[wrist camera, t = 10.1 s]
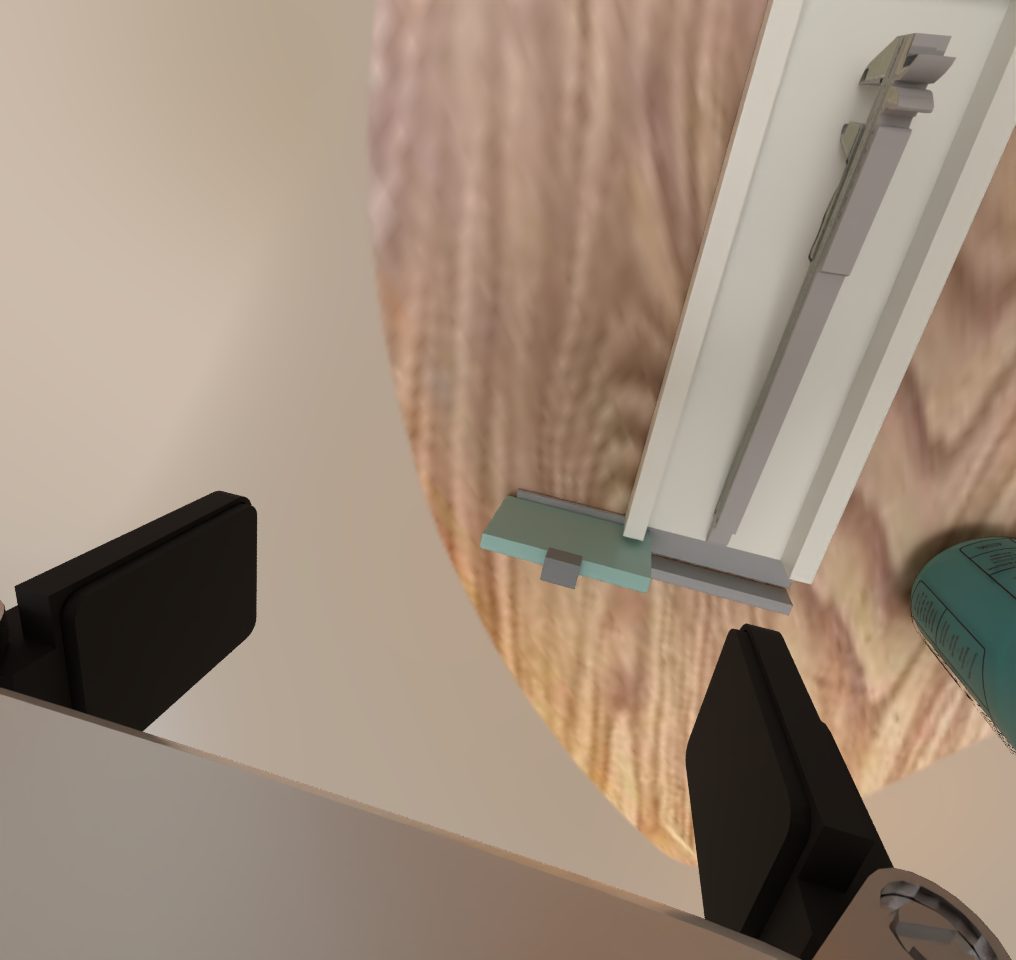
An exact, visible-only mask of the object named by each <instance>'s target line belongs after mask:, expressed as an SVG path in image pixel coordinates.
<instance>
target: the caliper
mask: <svg viewBox="0 0 1016 960" xmlns="http://www.w3.org/2000/svg"><path fill="white" fill-rule="evenodd" d="M951 37H952V36H945V35H934V34H923V33H912V34H906V35H901V36H897V37H896V38H895V39H894V40H893V41H892V42H891V43H890V44H889V45H888V46H887V47H886V48H885V49H884V50H883V51H881V52H880V53H879V54H878V55H877V56H876V57H875V58H874V59H873V60H872V61H871V62H870V63H869V64H868V66H867V67H866V69H865V71H864V73H863V75H862V77H861V79H860V82H859V84H861V85H870V86H879V87H880V88H879V90H878V93H877V95H876V97H875V100H874V102H873V105H872V108H871V110H870V113H869V115H868V118H867V120H866V123H857V122H850V123H849V124H846V123H845V124H844V125H843V128H842V131H841V137H840V141H841V145H842V149H843V153H844V157H845V162H846V167H845V170H844V173H843V175H842V178H841V181H840V183H839V186H838V187H837V188H836V190H835V193H834V195H833V197H832V199H831V201H830V203H829V206H828V208H827V210H826V212H825V214H824V217H823V220H822V223H821V226H820V229H819V232H818V234H817V237H816V239H815V241H814V243H813V246H812V248H811V250H810V253H809V256H808V259H809V261H810V262H811V264H810V267H809V269H808V272H807V274H806V277H805V279H804V282H803V285H802V287H801V290H800V292H799V295H798V298H797V300H796V303H795V305H794V308H793V310H792V313H791V316H790V318H789V321H788V323H787V326H786V329H785V331H784V334H783V336H782V339H781V341H780V344H779V347H778V349H777V352H776V354H775V357H774V359H773V362H772V365H771V367H770V370H769V372H768V375H767V378H766V380H765V383H764V385H763V388H762V390H761V393H760V396H759V398H758V401H757V403H756V406H755V408H754V411H753V414H752V416H751V419H750V421H749V424H748V426H747V429H746V431H745V434H744V437H743V439H742V442H741V444H740V447H739V449H738V452H737V455H736V457H735V460H734V462H733V465H732V467H731V470H730V472H729V475H728V478H727V480H726V483H725V485H724V488H723V490H722V493H721V495H720V498H719V501H718V503H717V506H716V508H715V511H714V514H713V518H714V521H713V523H712V526H711V528H710V530H709V533H708V536H707V538H706V543H709V544H713V545H718V546H722V547H726V546H727V545H728V543H729V541H730V538H731V536H732V534H736V532H737V530H738V527H739V525H740V523H741V520H742V518H743V516H744V513H745V511H746V509H747V506H748V504H749V502H750V499H751V497H752V495H753V492H754V490H755V488H756V485H757V483H758V481H759V478H760V476H761V474H762V471H763V469H764V467H765V464H766V462H767V460H768V457H769V455H770V453H771V450H772V448H773V445H774V443H775V441H776V438H777V436H778V434H779V431H780V429H781V427H782V424H783V422H784V420H785V417H786V415H787V413H788V410H789V408H790V405H791V403H792V401H793V398H794V396H795V394H796V391H797V389H798V387H799V384H800V382H801V380H802V377H803V375H804V373H805V370H806V368H807V365H808V363H809V361H810V358H811V356H812V354H813V351H814V349H815V347H816V344H817V342H818V340H819V337H820V335H821V333H822V330H823V328H824V326H825V323H826V321H827V318H828V316H829V314H830V311H831V309H832V307H833V304H834V302H835V300H836V297H837V295H838V293H839V290H840V288H841V286H842V283H843V281H844V278H845V276H849V275H850V273H851V271H852V269H853V267H854V264H855V262H856V260H857V257H858V255H859V253H860V250H861V248H862V246H863V244H864V241H865V239H866V237H867V234H868V232H869V230H870V227H871V225H872V223H873V221H874V218H875V216H876V214H877V211H878V209H879V207H880V204H881V202H882V200H883V198H884V195H885V193H886V191H887V188H888V186H889V184H890V181H891V179H892V177H893V174H894V172H895V170H896V168H897V165H898V163H899V161H900V158H901V156H902V154H903V151H904V149H905V147H906V145H907V142H908V140H909V137H910V135H911V132H912V130H911V129H909V127H910V124H911V121H912V119H913V117H916V115H917V113H918V112H919V113H932V111H933V108H934V100H933V93H932V91H930V90H926V88H927V86H928V84H932V83H935V82H936V81H937V80H938V79H939V78H941V77H942V76H943V75H944V74H945V73H946V72H947V70H948V69H949V68H950V67H951V66H952V64H953V63H954V61H955V59H956V57H948V56H944V54H945V51H946V49H947V46H948V44H949V42H950V39H951Z"/></svg>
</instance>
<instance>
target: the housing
mask: <svg viewBox="0 0 1016 960" xmlns="http://www.w3.org/2000/svg"><path fill="white" fill-rule="evenodd" d="M912 33H923V34H934V35H945V36H952V37H951V39H950V42H949V44H948V46H947V49H946V51H945V54H944V56H948V57H956V59H955V61H954V63H953V64H952V66H951V67H950V68H949V69H948V70H947V72H946V73H945V74H944V75H943V76H942V77H941V78H939V79H938V80H937V81H936V82H935V83H932V84H928V86H927V88H926V90H930V91H932V93H933V100H934V108H933V111H932V113H919V112H918V113H917V115H916V117H913V119H912V121H911V124H910V127H909V129H911V130H912V132H911V135H910V137H909V140H908V142H907V145H906V147H905V149H904V151H903V154H902V156H901V158H900V161H899V163H898V165H897V168H896V170H895V172H894V174H893V177H892V179H891V181H890V184H889V186H888V188H887V191H886V193H885V195H884V198H883V200H882V202H881V204H880V207H879V209H878V211H877V214H876V216H875V218H874V221H873V223H872V225H871V227H870V230H869V232H868V234H867V237H866V239H865V241H864V244H863V246H862V248H861V250H860V253H859V255H858V257H857V260H856V262H855V264H854V267H853V269H852V271H851V273H850V275H849V276H845V278H844V281H843V283H842V286H841V288H840V290H839V293H838V295H837V297H836V300H835V302H834V304H833V307H832V309H831V311H830V314H829V316H828V318H827V321H826V323H825V326H824V328H823V330H822V333H821V335H820V337H819V340H818V342H817V344H816V347H815V349H814V351H813V354H812V356H811V358H810V361H809V363H808V365H807V368H806V370H805V373H804V375H803V377H802V380H801V382H800V384H799V387H798V389H797V391H796V394H795V396H794V398H793V401H792V403H791V405H790V408H789V410H788V413H787V415H786V417H785V420H784V422H783V424H782V427H781V429H780V431H779V434H778V436H777V438H776V441H775V443H774V445H773V448H772V450H771V453H770V455H769V457H768V460H767V462H766V464H765V467H764V469H763V471H762V474H761V476H760V478H759V481H758V483H757V485H756V488H755V490H754V492H753V495H752V497H751V499H750V502H749V504H748V506H747V509H746V511H745V513H744V516H743V518H742V520H741V523H740V525H739V527H738V530H737V532H736V534H732V536H731V538H730V541H729V543H728V545H727V546H726V547H722V546H718V545H713V544H709V543H706V538H707V536H708V533H709V530H710V528H711V526H712V523H713V521H714V518H713V514H714V511H715V508H716V506H717V503H718V501H719V498H720V495H721V493H722V490H723V488H724V485H725V483H726V480H727V478H728V475H729V472H730V470H731V467H732V465H733V462H734V460H735V457H736V455H737V452H738V449H739V447H740V444H741V442H742V439H743V437H744V434H745V431H746V429H747V426H748V424H749V421H750V419H751V416H752V414H753V411H754V408H755V406H756V403H757V401H758V398H759V396H760V393H761V390H762V388H763V385H764V383H765V380H766V378H767V375H768V372H769V370H770V367H771V365H772V362H773V359H774V357H775V354H776V352H777V349H778V347H779V344H780V341H781V339H782V336H783V334H784V331H785V329H786V326H787V323H788V321H789V318H790V316H791V313H792V310H793V308H794V305H795V303H796V300H797V298H798V295H799V292H800V290H801V287H802V285H803V282H804V279H805V277H806V274H807V272H808V269H809V267H810V264H811V262H810V261H809V259H808V256H809V253H810V250H811V248H812V246H813V243H814V241H815V239H816V237H817V234H818V232H819V229H820V226H821V223H822V220H823V217H824V214H825V212H826V210H827V208H828V206H829V203H830V201H831V199H832V197H833V195H834V193H835V190H836V188H837V187H838V186H839V183H840V181H841V178H842V175H843V173H844V170H845V167H846V162H845V157H844V153H843V149H842V145H841V141H840V137H841V131H842V128H843V125H844V124H845V123H846V124H849V123H850V122H857V123H866V120H867V118H868V115H869V113H870V110H871V108H872V105H873V102H874V100H875V97H876V95H877V93H878V90H879V88H880V87H879V86H870V85H861V84H859V82H860V79H861V77H862V75H863V73H864V71H865V69H866V67H867V66H868V64H869V63H870V62H871V61H872V60H873V59H874V58H875V57H876V56H877V55H878V54H879V53H880V52H881V51H883V50H884V49H885V48H886V47H887V46H888V45H889V44H890V43H891V42H892V41H893V40H894V39H895V38H896V37H897V36H901V35H906V34H912ZM1015 125H1016V0H768V4H767V8H766V11H765V15H764V18H763V22H762V26H761V29H760V33H759V36H758V40H757V44H756V47H755V51H754V54H753V58H752V62H751V65H750V69H749V72H748V76H747V80H746V83H745V87H744V90H743V94H742V98H741V101H740V105H739V108H738V112H737V116H736V119H735V123H734V126H733V130H732V133H731V137H730V141H729V144H728V148H727V151H726V155H725V159H724V162H723V166H722V169H721V173H720V177H719V180H718V184H717V187H716V191H715V195H714V198H713V202H712V205H711V209H710V213H709V216H708V220H707V223H706V227H705V231H704V234H703V238H702V241H701V245H700V249H699V252H698V256H697V259H696V263H695V267H694V270H693V274H692V277H691V281H690V285H689V288H688V292H687V295H686V299H685V303H684V306H683V310H682V313H681V317H680V321H679V324H678V328H677V331H676V335H675V338H674V342H673V346H672V349H671V353H670V356H669V360H668V364H667V367H666V371H665V374H664V378H663V382H662V385H661V389H660V392H659V396H658V400H657V403H656V407H655V410H654V414H653V418H652V421H651V425H650V428H649V432H648V436H647V439H646V443H645V446H644V450H643V454H642V457H641V461H640V464H639V468H638V472H637V475H636V479H635V482H634V486H633V490H632V493H631V497H630V500H629V504H628V508H627V511H626V515H622V514H618V513H614V512H610V511H606V510H602V509H598V508H594V507H590V506H586V505H582V504H578V503H574V502H570V501H566V500H562V499H558V498H554V497H550V496H547V495H543V494H539V493H535V492H531V491H527V490H523V489H518V492H517V497H516V498H520V499H524V500H528V501H532V502H535V503H539V504H543V505H547V506H551V507H555V508H559V509H563V510H567V511H571V512H575V513H578V514H582V515H586V516H590V517H594V518H598V519H602V520H606V521H610V522H614V523H618V524H622V525H624V532H623V536H626V537H630V538H633V539H637V540H641V541H643V539H644V536H645V533H646V531H649V532H651V552H652V553H656V554H660V555H664V556H668V557H671V558H675V559H679V560H683V561H687V562H691V563H694V564H698V565H702V566H706V567H710V568H713V569H717V570H721V571H725V572H729V573H733V574H736V575H740V576H744V577H748V578H752V579H756V580H759V581H763V582H767V583H771V584H775V585H778V586H782V587H786V588H789V586H790V584H791V581H792V580H796V581H800V582H803V583H807V584H812V581H813V579H814V577H815V575H816V572H817V570H818V568H819V566H820V563H821V561H822V559H823V557H824V554H825V552H826V550H827V548H828V545H829V543H830V541H831V539H832V536H833V534H834V532H835V530H836V527H837V525H838V523H839V521H840V518H841V516H842V514H843V512H844V509H845V507H846V505H847V503H848V500H849V498H850V496H851V494H852V491H853V489H854V487H855V485H856V482H857V480H858V478H859V476H860V474H861V471H862V469H863V467H864V465H865V462H866V460H867V458H868V456H869V453H870V451H871V449H872V447H873V444H874V442H875V440H876V438H877V435H878V433H879V431H880V429H881V426H882V424H883V422H884V420H885V417H886V415H887V413H888V411H889V408H890V406H891V404H892V402H893V399H894V397H895V395H896V393H897V390H898V388H899V386H900V384H901V381H902V379H903V377H904V375H905V372H906V370H907V368H908V366H909V363H910V361H911V359H912V357H913V354H914V352H915V350H916V348H917V345H918V343H919V341H920V339H921V336H922V334H923V332H924V330H925V327H926V325H927V323H928V321H929V318H930V316H931V314H932V312H933V309H934V307H935V305H936V303H937V300H938V298H939V296H940V294H941V291H942V289H943V287H944V285H945V282H946V280H947V278H948V276H949V273H950V271H951V269H952V267H953V264H954V262H955V260H956V258H957V255H958V253H959V251H960V249H961V246H962V244H963V242H964V240H965V237H966V235H967V233H968V231H969V228H970V226H971V224H972V222H973V219H974V217H975V215H976V213H977V210H978V208H979V206H980V204H981V201H982V199H983V197H984V195H985V192H986V190H987V188H988V186H989V183H990V181H991V179H992V177H993V174H994V172H995V170H996V168H997V165H998V163H999V161H1000V159H1001V156H1002V154H1003V152H1004V150H1005V147H1006V145H1007V143H1008V141H1009V138H1010V136H1011V134H1012V132H1013V129H1014V127H1015ZM651 579H655V580H659V581H663V582H666V583H670V584H674V585H677V586H681V587H685V588H689V589H692V590H696V591H700V592H703V593H707V594H711V595H715V596H718V597H722V598H726V599H729V600H733V601H737V602H741V603H744V604H748V605H752V606H755V607H759V608H763V609H767V610H770V611H774V612H778V613H781V614H785V615H789V613H790V611H791V609H792V606H793V605H792V602H791V600H790V598H789V596H788V593H787V591H786V589H783V588H779V587H775V586H771V585H768V584H764V583H760V582H756V581H752V580H749V579H745V578H741V577H737V576H733V575H729V574H726V573H722V572H718V571H714V570H710V569H707V568H703V567H699V566H695V565H691V564H687V563H684V562H680V561H676V560H672V559H668V558H665V557H661V556H657V555H653V554H651Z"/></svg>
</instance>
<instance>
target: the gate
mask: <svg viewBox="0 0 1016 960" xmlns="http://www.w3.org/2000/svg"><path fill="white" fill-rule="evenodd" d="M623 532H624V525H622V524H618V523H614V522H610V521H606V520H602V519H598V518H594V517H590V516H586V515H582V514H578V513H575V512H571V511H567V510H563V509H559V508H555V507H551V506H547V505H543V504H539V503H535V502H532V501H528V500H524V499H520V498H516V497H512V496H508V495H507V497H506V498H505V500H504V501H503V503H502V504H501V506H500V507H499V509H498V510H497V512H496V513H495V515H494V516H493V518H492V520H491V521H490V523H489V524H488V526H487V527H486V529H485V530H484V532H483V533H482V539H481V545H480V548H483V549H487V550H490V551H494V552H497V553H501V554H505V555H508V556H512V557H516V558H519V559H523V560H527V561H530V562H534V563H538V564H541V565H543V569H542V573H541V578H540V580H543V581H547V582H550V583H554V584H558V585H561V586H565V587H568V588H572V589H575V585H576V581H577V577H578V575H581V576H585V577H589V578H592V579H596V580H600V581H603V582H607V583H611V584H614V585H618V586H622V587H625V588H629V589H633V590H636V591H640V592H644V593H647V591H648V588H649V585H650V582H651V532H649V531H646V533H645V536H644V539H643V541H641V540H637V539H633V538H630V537H626V536H623Z"/></svg>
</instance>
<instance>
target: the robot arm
mask: <svg viewBox="0 0 1016 960" xmlns="http://www.w3.org/2000/svg"><path fill="white" fill-rule="evenodd" d="M256 588H257V511H256V509H255V508H254V507H253V506H251V503H250V500H249V499H248V498H246V497H242V496H239V495H235V494H231V493H227V492H223V491H216V492H213V493H211V494H209V495H207V496H205V497H202V498H200V499H199V500H196V501H194V502H192V503H190V504H188V505H185V506H183V507H181V508H179V509H177V510H175V511H173V512H171V513H169V514H166V515H164V516H162V517H160V518H158V519H156V520H154V521H152V522H150V523H147V524H145V525H143V526H141V527H139V528H137V529H135V530H133V531H131V532H128V533H126V534H124V535H122V536H120V537H118V538H116V539H114V540H111V541H109V542H107V543H105V544H103V545H101V546H99V547H97V548H95V549H92V550H90V551H88V552H86V553H84V554H82V555H80V556H78V557H76V558H73V559H71V560H69V561H67V562H65V563H63V564H61V565H59V566H57V567H55V568H52V569H50V570H48V571H46V572H44V573H42V574H40V575H38V576H35V577H33V578H31V579H29V580H27V581H25V582H23V583H21V584H19V585H16V586H15V591H16V597H17V603H18V605H17V606H15V607H13V608H11V609H9V610H7V611H5V606H4V604H3V603H2V602H1V600H0V960H1011V958H1010V956H1009V955H1008V953H1007V952H1006V950H1005V949H1004V947H1003V946H1002V944H1001V943H1000V941H999V939H998V938H997V937H996V936H995V935H994V934H993V933H992V931H991V930H990V929H989V928H988V927H987V926H986V925H985V924H984V922H983V921H982V920H981V919H980V918H979V917H978V916H977V915H976V914H975V913H974V912H973V911H971V910H970V909H969V908H968V907H967V906H966V905H965V904H963V903H962V902H961V901H960V900H959V899H958V898H957V897H955V896H954V895H952V894H951V893H949V892H948V891H946V890H945V889H943V888H942V887H940V886H939V885H937V884H936V883H934V882H932V881H930V880H928V879H926V878H924V877H922V876H919V875H917V874H915V873H913V872H909V871H905V870H901V869H896V868H894V867H893V865H892V863H891V861H890V859H889V856H888V854H887V852H886V850H885V848H884V846H883V843H882V841H881V839H880V837H879V835H878V833H877V831H876V828H875V826H874V824H873V822H872V820H871V818H870V816H869V813H868V811H867V809H866V807H865V805H864V803H863V801H862V798H861V796H860V794H859V792H858V790H857V788H856V786H855V783H854V781H853V779H852V777H851V775H850V773H849V770H848V768H847V766H846V764H845V762H844V760H843V758H842V755H841V753H840V751H839V749H838V747H837V745H836V743H835V740H834V738H833V736H832V734H831V732H830V730H829V729H828V727H827V726H826V724H825V723H823V722H822V721H821V720H820V718H819V716H818V714H817V711H816V709H815V707H814V705H813V703H812V700H811V698H810V696H809V694H808V692H807V689H806V687H805V685H804V683H803V681H802V678H801V676H800V674H799V672H798V670H797V667H796V665H795V663H794V661H793V659H792V656H791V654H790V652H789V650H788V648H787V645H786V643H785V641H784V639H783V637H782V635H781V633H780V632H777V631H774V630H770V629H766V628H762V627H758V626H754V625H750V624H744V625H743V626H742V627H741V629H740V630H737V629H731V630H730V631H729V633H728V635H727V638H726V640H725V643H724V646H723V649H722V651H721V654H720V657H719V660H718V662H717V665H716V668H715V670H714V673H713V676H712V679H711V681H710V684H709V687H708V689H707V692H706V695H705V698H704V700H703V703H702V706H701V709H700V711H699V714H698V717H697V719H696V722H695V725H694V728H693V730H692V733H691V736H690V739H689V741H688V745H687V750H686V771H687V779H688V787H689V795H690V803H691V811H692V819H693V827H694V835H695V843H696V851H697V859H698V867H699V874H700V883H701V891H702V899H703V907H704V916H705V919H703V918H700V917H697V916H695V915H692V914H689V913H686V912H684V911H681V910H678V909H675V908H673V907H670V906H667V905H664V904H662V903H659V902H656V901H653V900H650V899H647V898H644V897H641V896H638V895H635V894H632V893H630V892H627V891H624V890H621V889H618V888H615V887H612V886H609V885H607V884H604V883H601V882H598V881H595V880H592V879H590V878H587V877H584V876H581V875H578V874H575V873H572V872H569V871H566V870H563V869H560V868H557V867H554V866H551V865H548V864H545V863H542V862H539V861H536V860H533V859H530V858H527V857H524V856H521V855H518V854H515V853H512V852H509V851H506V850H503V849H500V848H497V847H494V846H491V845H488V844H485V843H482V842H479V841H476V840H473V839H470V838H467V837H464V836H461V835H458V834H455V833H452V832H449V831H446V830H443V829H440V828H437V827H434V826H431V825H428V824H425V823H422V822H419V821H416V820H413V819H410V818H407V817H404V816H401V815H398V814H394V813H392V812H388V811H385V810H382V809H379V808H376V807H373V806H370V805H367V804H364V803H361V802H358V801H355V800H352V799H349V798H346V797H342V796H340V795H337V794H333V793H330V792H327V791H324V790H321V789H318V788H315V787H312V786H309V785H306V784H303V783H299V782H297V781H294V780H291V779H288V778H285V777H281V776H278V775H275V774H272V773H269V772H266V771H263V770H260V769H256V768H254V767H251V766H248V765H244V764H241V763H238V762H235V761H232V760H229V759H226V758H223V757H220V756H217V755H214V754H211V753H207V752H204V751H201V750H198V749H195V748H192V747H188V746H185V745H182V744H179V743H176V742H173V741H170V740H167V739H164V738H160V737H157V736H154V735H151V734H148V733H145V732H143V731H144V730H145V729H146V728H147V727H148V726H149V725H150V724H151V723H153V722H154V721H155V720H156V719H157V718H158V717H159V716H160V715H161V714H163V713H164V712H165V711H166V710H167V709H168V708H169V707H170V706H171V705H172V704H174V703H175V702H176V701H177V700H178V699H179V698H180V697H182V696H183V695H184V694H185V693H186V692H187V691H188V690H189V689H190V688H192V686H194V685H195V684H196V683H197V682H198V681H199V680H200V679H201V678H203V677H204V676H205V675H206V674H207V673H208V672H209V671H211V670H212V668H214V667H215V666H216V665H217V664H218V663H219V662H221V661H222V660H223V659H224V658H225V657H226V656H227V655H228V654H229V653H231V652H232V651H233V650H234V649H235V648H236V647H237V646H238V645H240V644H241V643H242V642H243V641H244V640H245V639H246V638H247V637H248V636H249V635H250V634H251V632H252V630H253V628H254V626H255V623H256V592H257V589H256Z"/></svg>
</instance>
